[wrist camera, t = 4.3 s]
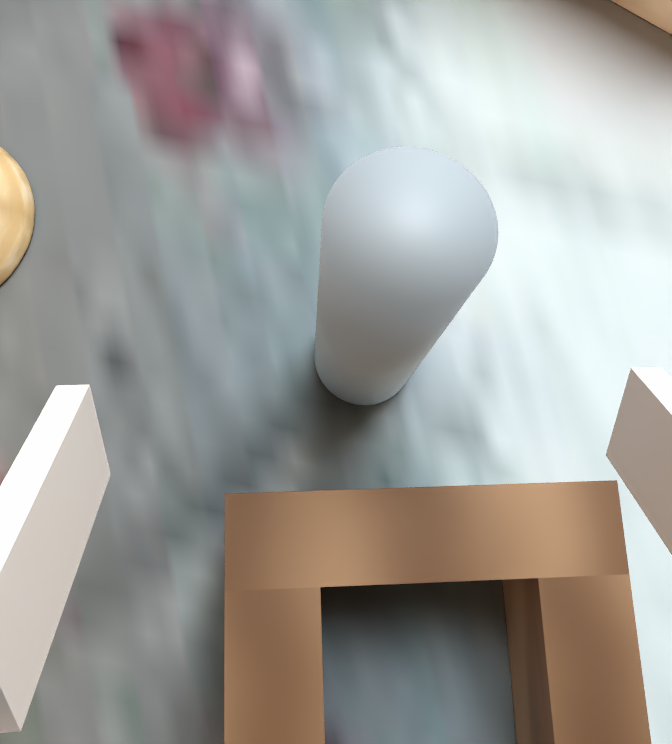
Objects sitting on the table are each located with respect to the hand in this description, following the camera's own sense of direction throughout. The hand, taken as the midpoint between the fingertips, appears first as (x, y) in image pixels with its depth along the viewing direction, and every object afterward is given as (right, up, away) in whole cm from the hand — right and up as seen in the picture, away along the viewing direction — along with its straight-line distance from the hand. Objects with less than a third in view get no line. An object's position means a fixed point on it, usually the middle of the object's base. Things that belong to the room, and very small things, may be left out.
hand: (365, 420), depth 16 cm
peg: (0, +2, +10) cm, 10 cm away
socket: (+2, -10, +8) cm, 13 cm away
